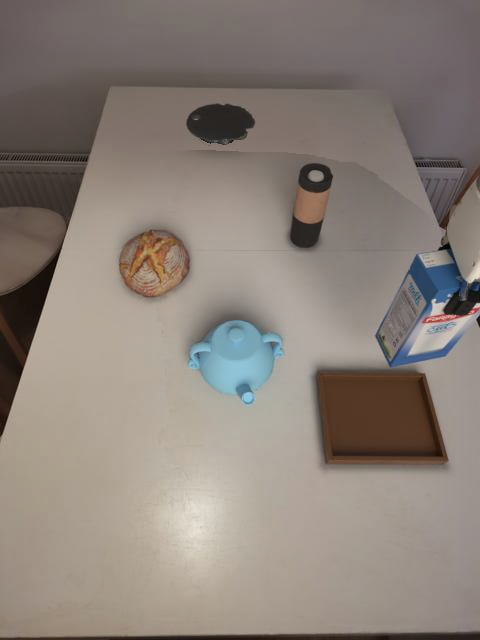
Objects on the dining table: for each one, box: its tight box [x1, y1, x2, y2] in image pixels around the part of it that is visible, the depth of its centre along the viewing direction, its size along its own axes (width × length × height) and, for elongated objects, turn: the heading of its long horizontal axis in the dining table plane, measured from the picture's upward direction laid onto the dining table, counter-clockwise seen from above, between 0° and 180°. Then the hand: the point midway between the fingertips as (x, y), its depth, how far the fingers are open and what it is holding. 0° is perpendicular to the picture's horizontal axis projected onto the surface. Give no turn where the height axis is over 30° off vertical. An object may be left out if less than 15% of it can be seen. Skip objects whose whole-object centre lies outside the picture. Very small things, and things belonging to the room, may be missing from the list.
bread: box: [118, 229, 190, 298], centre depth 101 cm, size 16×20×10 cm
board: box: [185, 102, 256, 145], centre depth 135 cm, size 22×22×5 cm
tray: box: [316, 371, 449, 466], centre depth 83 cm, size 22×18×3 cm
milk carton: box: [374, 248, 480, 368], centre depth 63 cm, size 10×6×20 cm, turn 102°
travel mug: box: [290, 162, 334, 249], centre depth 103 cm, size 8×8×20 cm
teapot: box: [187, 319, 285, 407], centre depth 83 cm, size 20×20×13 cm
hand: (447, 289), depth 59 cm, fingers closed on milk carton, 7 cm apart
